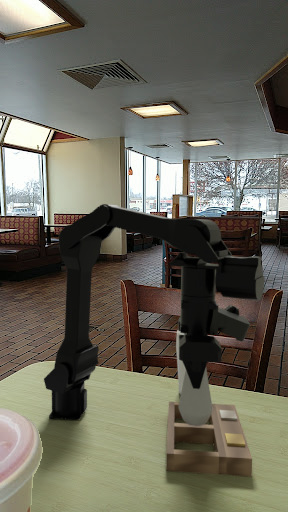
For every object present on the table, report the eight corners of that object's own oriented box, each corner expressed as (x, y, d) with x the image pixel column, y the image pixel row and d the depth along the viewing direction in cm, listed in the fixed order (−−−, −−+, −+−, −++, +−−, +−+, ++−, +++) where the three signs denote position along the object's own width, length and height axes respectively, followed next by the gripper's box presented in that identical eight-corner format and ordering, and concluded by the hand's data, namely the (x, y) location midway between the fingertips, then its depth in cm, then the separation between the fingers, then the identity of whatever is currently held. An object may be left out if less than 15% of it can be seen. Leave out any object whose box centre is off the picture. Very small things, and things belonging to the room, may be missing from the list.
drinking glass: (185, 402, 85) (187, 337, 84) (170, 390, 91) (171, 329, 90) (209, 396, 88) (211, 333, 87) (193, 385, 94) (194, 326, 93)
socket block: (166, 470, 61) (166, 451, 61) (168, 415, 79) (168, 399, 79) (251, 476, 60) (252, 456, 60) (234, 418, 78) (234, 403, 78)
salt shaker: (211, 431, 62) (213, 354, 61) (176, 426, 63) (178, 351, 62) (212, 413, 68) (214, 342, 66) (180, 409, 69) (181, 340, 67)
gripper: (259, 307, 53) (255, 413, 55) (237, 286, 72) (235, 365, 73) (180, 305, 54) (178, 409, 56) (179, 284, 73) (177, 363, 74)
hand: (195, 383), depth 65 cm, fingers closed on salt shaker, 3 cm apart
